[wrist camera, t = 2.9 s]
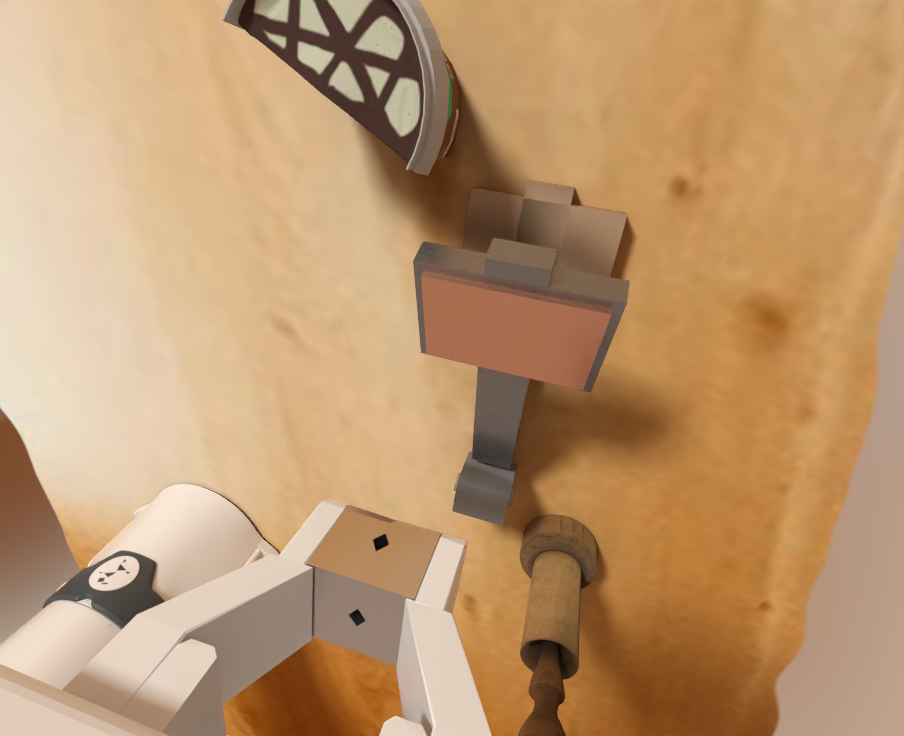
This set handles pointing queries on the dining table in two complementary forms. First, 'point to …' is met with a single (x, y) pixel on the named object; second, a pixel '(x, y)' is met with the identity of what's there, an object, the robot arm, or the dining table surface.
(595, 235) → the walnut jaw
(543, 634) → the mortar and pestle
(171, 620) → the robot arm
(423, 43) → the food container
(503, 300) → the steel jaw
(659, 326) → the dining table surface
